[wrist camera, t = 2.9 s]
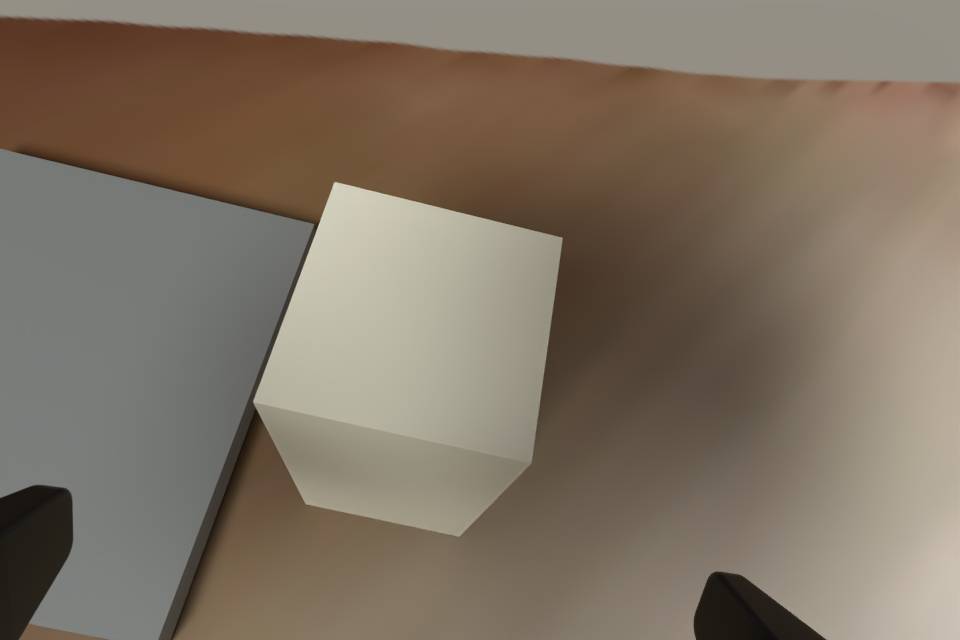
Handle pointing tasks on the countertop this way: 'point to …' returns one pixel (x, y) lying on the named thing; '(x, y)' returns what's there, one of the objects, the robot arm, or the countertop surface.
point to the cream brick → (411, 360)
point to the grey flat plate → (131, 374)
